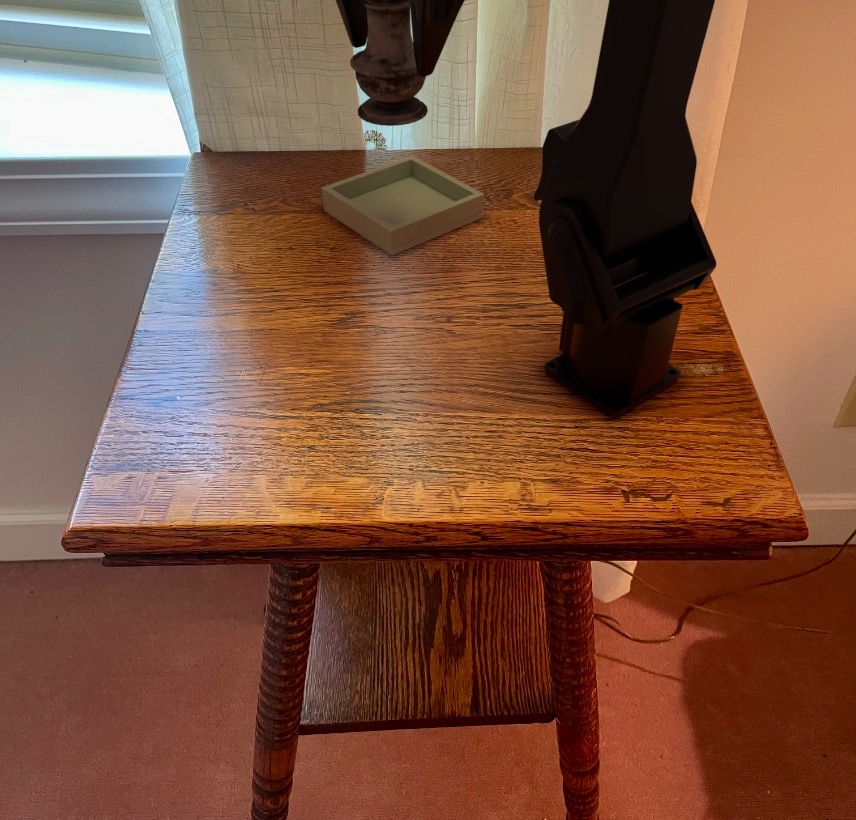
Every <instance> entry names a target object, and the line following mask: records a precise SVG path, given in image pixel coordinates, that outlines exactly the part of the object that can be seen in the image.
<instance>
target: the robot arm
mask: <svg viewBox="0 0 856 820" xmlns="http://www.w3.org/2000/svg"><path fill="white" fill-rule="evenodd" d="M465 1H466V0H410V24H411V36H412V41H413V47H414V56H415V63H416V69H417V74H418V76H420V77H425V76H426V77H428V76H431V75H432V74H433V73H434V71H435V69H436V66H437V63H438V62H439V59H440V57H441V54H442V52H443V50H444V47H445V45H446V43H447V40H448V38H449V36H450V34H451V31H452V29H453V26H454V23H455V22H456V19H457V17H458V15H459V13H460V11H461V9H462V7H463V5H464V3H465ZM715 2H716V0H608V4H607V10H606V14H605V15H606V16H605V19H604V20H605V22H604V27H603V32H602V36H601V43H600V48H599V55H598V60H597V65H596V70H595V75H594V82H593V87H592V93H591V97H590V100H589V104H588V106H586V107H587V108H586V109H585V110H584V112H583V113H582V115H581V116H580V118H579V119H576V120H574V121H571V122H568V123H564V124H561V125H559V126H555V127H552V128H550V129H548V131H547V133H546V136H545V138H544V142H543V144H542V151H541V153H542V155H541V156H542V158H541V175H540V179H539V183H538V186H537V188H536V190H535V191H534V193H533V200H534V201H536V202H539V201H540V206H539V210H538V211H539V213H538V229H539V233H540V234H539V235H540V240H541V247H542V254H543V261H544V268H545V277H546V281H547V289H548V296H549V300H550V301H551V302H552V303H553V304H555V305H557V306H558V307H560V308H561V311H562V322H561V327H560V337H559V344H558V350H559V352H560V353H561V354H559V355H557V356H556V357H553V358H551V359H550V360H548V361H546V363H545V364H544V368H543V369H544V370H543V371H544V373H545V374H546V375H548V376H550V377H551V378H552V379H554V380H555V381H557V382H559V383H560V384H562V385H563V386H564V387H566V388H567V389H569V390H570V391H572V392H573V393H575V394H576V395H578V396H579V397H581V398H582V399H584V400H585V401H587V402H588V403H590V404H591V405H593V406H594V407H595V408H597V409H599V410H600V411H602V412H603V413H605V414H606V415H608V416H609V417H612V418H617V417H619V416H622V415H623V414H625V413H626V412H628V411H630V410H631V409H633V408H635V407H637V406H638V405H640V404H641V403H643V402H644V401H646V400H648V399H650V398H651V397H653V396H654V395H656V394H658V393H660V392H661V391H663V390H664V389H666V388H667V387H669V386H671V385H673V384H674V383H676V382H677V381H678V380H679V378H680V375H681V373H680V370H678V369H677V368H676V367H674V366H673V365H671V364H670V360H671V355H672V351H673V347H674V344H675V338H676V335H677V331H678V328H679V322H680V319H681V315H682V311H683V304H682V303H680V302H678V301H676V300H675V299H676V298H678V297H680V296H682V295H684V294H687V293H688V292H690V291H696V290H698V289H700V288H702V287H703V286H704V285H705V283H706V282H707V280H708V279H709V278H710V276H711V275H712V274H713V272H714V271H715V269H716V267H717V260H716V257H715V255H714V252H713V250H712V248H711V245H710V243H709V240H708V238H707V235H706V234H705V231H704V229H703V226H702V223H701V221H700V219H699V217H698V214H697V212H696V209H695V208H694V207H695V206H694V205H693V202H692V199H693V193H694V186H695V179H696V173H697V164H698V162H697V161H698V158H697V153H696V150H695V146H694V143H693V139H692V135H691V132H690V128H689V124H688V120H687V117H686V116H687V115H686V114H687V107H688V102H689V98H690V95H691V92H692V88H693V84H694V80H695V77H696V73H697V69H698V65H699V62H700V58H701V54H702V51H703V47H704V43H705V40H706V35H707V32H708V29H709V25H710V21H711V17H712V14H713V10H714V6H715ZM335 3H336V6H337V9H338V12H339V14H340V17H341V20H342V23H343V25H344V29H345V32H346V34H347V36H348V40H349V42H350V45H351V46H352V47H353V48H355V49H358V48H361V47H364V46H365V47H366V44H367V38H368V22H367V7H366V6H364V5H363V4H362V0H335Z"/></svg>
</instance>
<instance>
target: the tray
mask: <svg viewBox="0 0 856 820" xmlns="http://www.w3.org/2000/svg"><path fill="white" fill-rule="evenodd" d="M321 195H322V203H323V212H325V213H327V214H328V215H329V216H331V217H332V218H333V219H335V220H337V221H338V222H340V223H341V224H343V225H344V226H346V227H348V228H349V229H350V230H352V231H354V232H355V233H357V234H358V235H359V236H361V237H362V238H364V239H366V240H367V241H369V242H370V243H372V244H373V245H375V246H376V247H378V248H379V249H382V250H383V251H384V252H386V253H387V254H389V255H390V256H395V255H398V254H400V253H402V252H404V251H407V250H410V249H411V248H413V247H417V246H419V245H421V244H424V243H426V242H428V241H430V240H433V239H436V238H438V237H440V236H443V235H445V234H447V233H450V232H452V231H454V230H457V229H459V228H461V227H465V226H467V225H469V224H471V223H473V222H477V221H479V220H481V219H483V218H484V205H485V202H484V201H485V194H484V193H482V192H481V191H479V190H478V189H476V188H473V187H472V186H471V185H468V184H466V183H465V182H463V181H461V180H458V179H457V178H455V177H454V176H451V175H450V174H447V173H446V172H445V171H442V170H440V169H438V168H437V167H434V166H433V165H431V164H429V163H427V162H425V161H423V160H422V159H420V158H417V157H416V156H414V155H410V156H409V155H408V156H406V157H404V158H401V159H398V160H396V161H395V160H394V161H392V162H389V163H386V164H384V165H381V166H379V167H376V168H373V169H370V170H368V171H365V172H362V173H359V174H356V175H353V176H350V177H347V178H345V179H342V180H340V181H337V182H334V183H330V184H328V185H325V186H322V187H321Z"/></svg>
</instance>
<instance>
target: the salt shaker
mask: <svg viewBox="0 0 856 820" xmlns="http://www.w3.org/2000/svg"><path fill="white" fill-rule="evenodd" d="M362 4H363V5H364V6H366V7H367V22H368V37H367V42H366V45H365V48H364V49H363V50H360V51H358V52H357V53H355V54H354V55H352V57H351V58H350V60H349V65H350V67H351V68H352V70H353V71H354V73H355V75H354V76H355V80H356V82H357V84H358V86H359V89H360V90H361V91H362V92H363V93H364V94H365V95H366V96H367V98H368V99H367V100H365V101H364V102H362V103H361V104H360V105H359V106H358V108H357V116H358V117H359V118H360V119H361V120H362V121H364V122H366V123H369V124H372V125H377V126H386V127H387V126H388V127H393V126H394V127H395V126H406V125H409V124H414V123H417V122H419V121H420V120H423V119H424V118H425V117H426V116H427V115H428V112H429V109H428V106H427V105H426V103H425V102H423V101H421V100H420V99H419V98H417V97H416V95H417V94H418V93H419V92H420V91H421V90H422V89H423V87H424V85H425V81H426V78H427V76H425V77H420V76H418V74H417V69H416V63H415V56H414V47H413V35H412V23H411V11H410V0H362Z"/></svg>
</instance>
